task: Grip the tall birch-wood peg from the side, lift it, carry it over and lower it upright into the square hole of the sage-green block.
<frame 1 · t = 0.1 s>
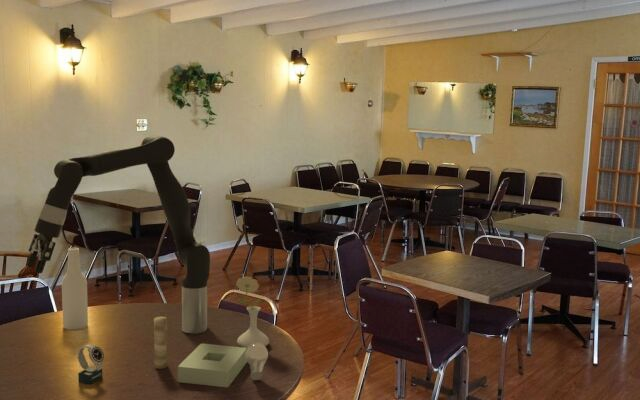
hand: (33, 269, 204), 31 cm above the table, tool tilted 20°, fingers open, 8 cm apart
peg: (160, 366, 211), on the table
hole block: (213, 371, 207), on the table
flower in vase: (251, 345, 231), on the table
watch: (90, 380, 199), on the table
light bulb: (256, 381, 202), on the table
alcohol: (75, 327, 245), on the table
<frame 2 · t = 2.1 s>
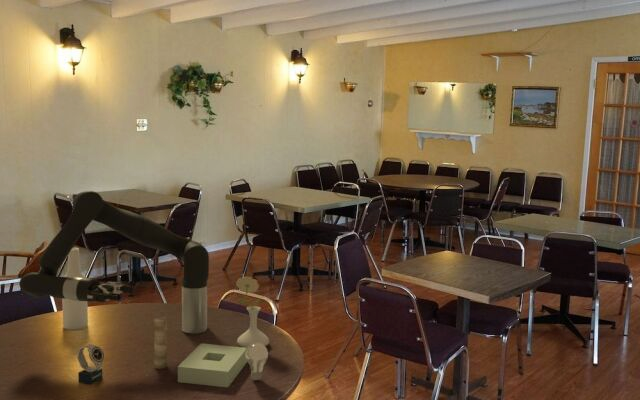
hand: (127, 293, 209), 23 cm above the table, tool horizontal, fingers open, 8 cm apart
nothing on the table moved.
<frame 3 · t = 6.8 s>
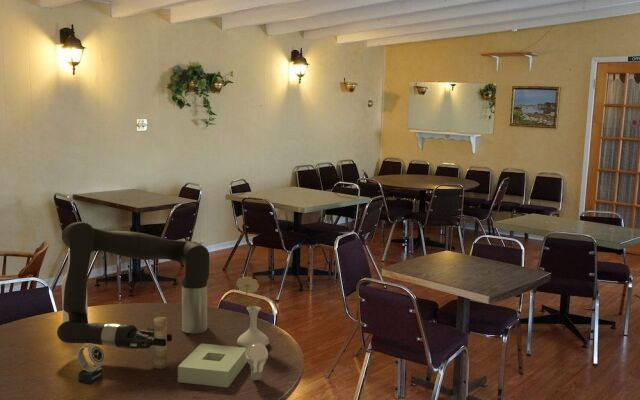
hand: (168, 340, 209), 9 cm above the table, tool horizontal, fingers closed on peg, 4 cm apart
peg: (160, 366, 211), on the table, touching gripper
everything else where it was.
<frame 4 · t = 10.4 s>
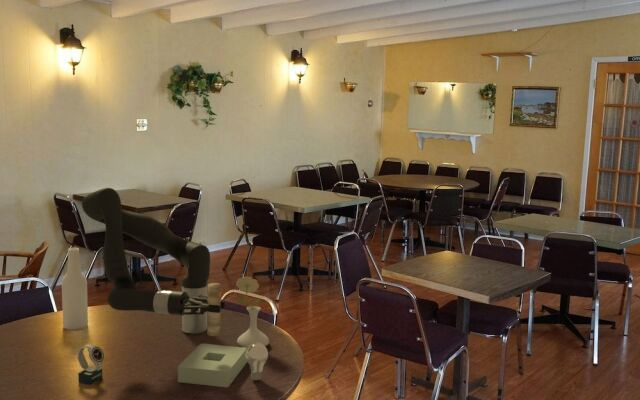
hand: (222, 307, 204), 22 cm above the table, tool horizontal, fingers closed on peg, 4 cm apart
peg: (213, 333, 206), point 13 cm above the table, touching gripper
everything else where it was.
when the fingers open (10 cm above the table, at t = 14.0 s): peg drops 1 cm, resting in hole block.
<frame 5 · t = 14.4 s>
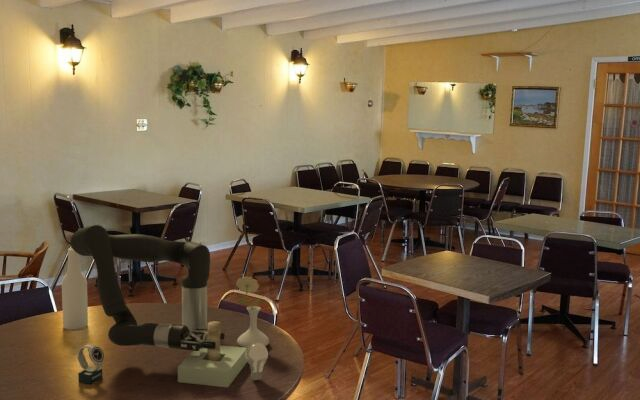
hand: (219, 340, 206), 11 cm above the table, tool horizontal, fingers open, 8 cm apart
peg: (213, 371, 208), resting in hole block
everything else where it was.
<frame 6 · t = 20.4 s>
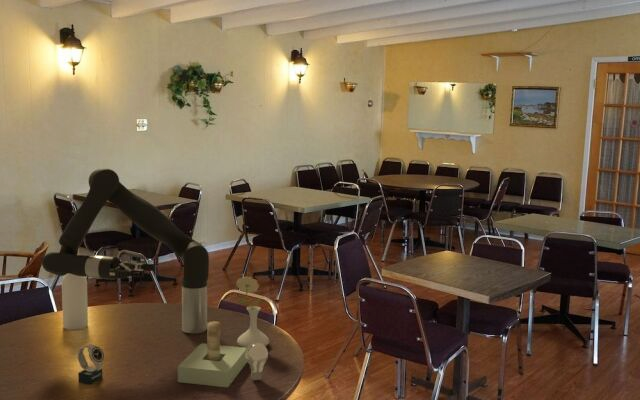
hand: (148, 270, 212), 30 cm above the table, tool horizontal, fingers open, 8 cm apart
nothing on the table moved.
at the end: peg 0.1 cm off-centre on the hole block, point 0.0 cm above the hole block's base; peg tilted 0°; the gripper is holding nothing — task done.
